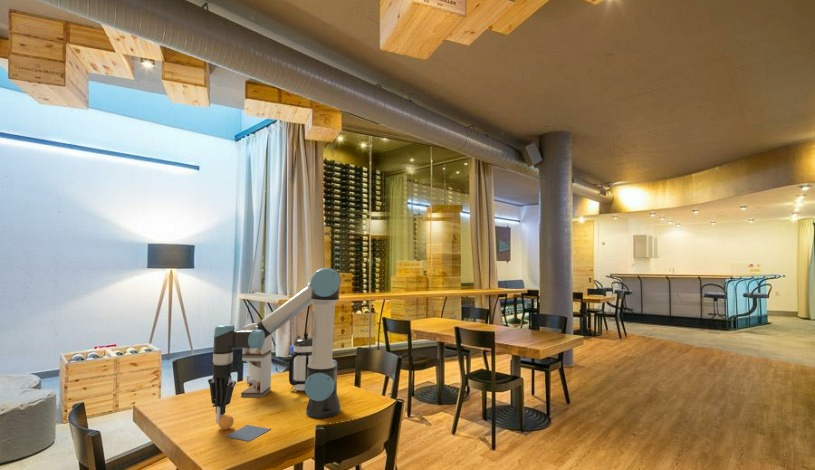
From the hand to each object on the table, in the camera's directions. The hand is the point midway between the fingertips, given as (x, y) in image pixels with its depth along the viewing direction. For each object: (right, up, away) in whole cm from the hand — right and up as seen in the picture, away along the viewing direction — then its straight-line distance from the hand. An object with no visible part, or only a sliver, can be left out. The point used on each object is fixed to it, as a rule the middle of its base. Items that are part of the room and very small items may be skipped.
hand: (219, 422), depth 163 cm
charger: (-10, -8, +65) cm, 66 cm away
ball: (+3, +1, -1) cm, 3 cm away
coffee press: (+22, -6, +48) cm, 53 cm away
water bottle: (+12, -8, +70) cm, 72 cm away
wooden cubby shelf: (-2, -6, +45) cm, 45 cm away
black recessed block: (-14, -6, +29) cm, 33 cm away
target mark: (+14, -2, -5) cm, 15 cm away
